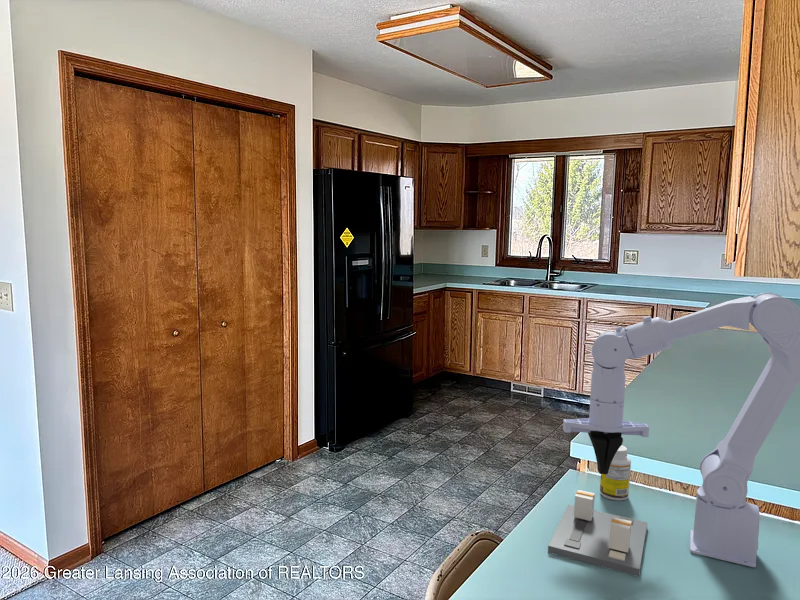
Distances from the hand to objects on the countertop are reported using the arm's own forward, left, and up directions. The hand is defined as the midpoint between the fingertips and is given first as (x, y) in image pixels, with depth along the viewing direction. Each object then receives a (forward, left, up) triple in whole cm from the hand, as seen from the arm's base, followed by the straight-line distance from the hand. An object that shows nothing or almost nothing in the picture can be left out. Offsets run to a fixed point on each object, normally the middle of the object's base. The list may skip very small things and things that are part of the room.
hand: (602, 472), depth 105 cm
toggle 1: (+3, +2, -8) cm, 9 cm away
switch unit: (-1, +6, -10) cm, 12 cm away
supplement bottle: (-1, -14, -10) cm, 17 cm away
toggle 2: (-4, +10, -8) cm, 13 cm away
